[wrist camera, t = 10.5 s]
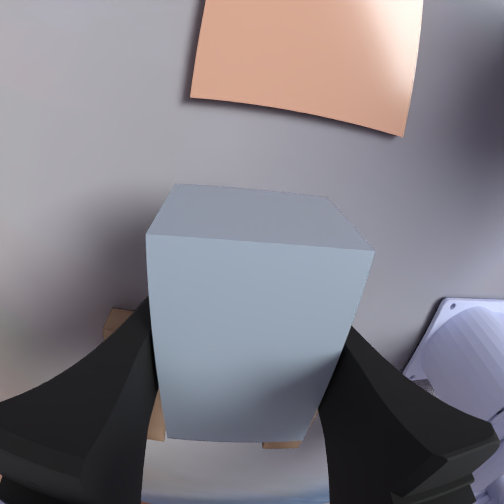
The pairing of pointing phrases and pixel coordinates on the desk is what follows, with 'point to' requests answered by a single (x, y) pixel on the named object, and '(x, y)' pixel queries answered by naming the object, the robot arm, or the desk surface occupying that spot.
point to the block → (249, 309)
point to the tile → (312, 57)
